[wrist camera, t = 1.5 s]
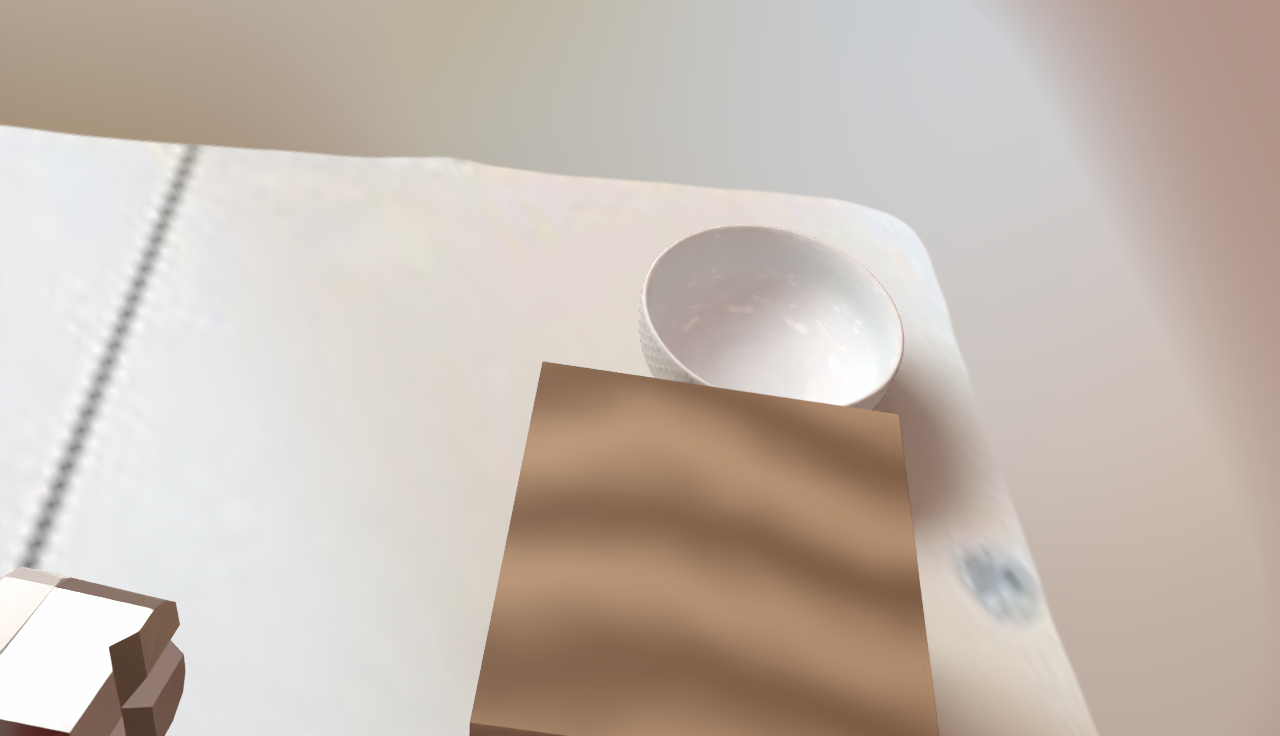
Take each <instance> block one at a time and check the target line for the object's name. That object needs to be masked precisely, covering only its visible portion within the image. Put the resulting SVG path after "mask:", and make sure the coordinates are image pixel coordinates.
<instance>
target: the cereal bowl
mask: <svg viewBox="0 0 1280 736" xmlns="http://www.w3.org/2000/svg"><path fill="white" fill-rule="evenodd" d="M639 313H640V316H639V325H640V327H639V333H640V342H641V344H642V351H643V353H644V356H645V359H646V362H647V364H648V366H649V369H650V371H651V372H652V375H653V376H654V378H657V379H664V380H671V381H677V382H684V383H691V384H698V385H704V386H711V387H718V388H725V389H731V390H738V391H745V392H752V393H758V394H765V395H772V396H779V397H785V398H792V399H799V400H806V401H812V402H819V403H826V404H833V405H839V406H846V407H853V408H860V409H866V410H872V409H874V408H875V407H876V406H877V404H878V403H879V401H880V400H881V399H882V398H883V397H884V395H885V393H886V392H887V391H888V389H889V387H890V385H891V383H892V382H893V380H894V377H895V375H896V373H897V371H898V368H899V366H900V363H901V360H902V356H903V349H904V332H903V326H902V322H901V319H900V316H899V313H898V311H897V308H896V306H895V304H894V303H893V301H892V299H891V297H890V296H889V295H888V293H887V292H886V290H885V289H884V288H883V286H882V285H881V284H880V283H879V282H878V280H877V279H876V278H875V277H874V276H873V275H872V274H871V273H870V272H869V271H868V270H867V269H865V268H864V267H863V266H862V265H861V264H860V263H858V262H857V261H855V260H854V259H852V258H851V257H850V256H848V255H847V254H845V253H844V252H842V251H840V250H839V249H837V248H835V247H833V246H831V245H829V244H827V243H825V242H823V241H820V240H818V239H816V238H813V237H810V236H808V235H805V234H802V233H799V232H795V231H791V230H787V229H782V228H777V227H771V226H763V225H727V226H719V227H713V228H709V229H706V230H702V231H699V232H696V233H693V234H691V235H688V236H686V237H684V238H682V239H680V240H678V241H676V242H675V243H673V244H672V245H670V246H669V247H668V248H667V249H665V250H664V251H663V252H662V253H661V254H660V255H659V256H658V258H657V259H656V260H655V261H654V263H653V264H652V266H651V268H650V270H649V272H648V274H647V276H646V278H645V280H644V285H643V288H642V291H641V298H640V308H639Z"/></svg>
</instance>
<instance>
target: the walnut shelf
mask: <svg viewBox="0 0 1280 736" xmlns="http://www.w3.org/2000/svg"><path fill="white" fill-rule="evenodd" d="M470 736H939V732H938V724H937V716H936V708H935V700H934V692H933V684H932V676H931V668H930V660H929V652H928V644H927V636H926V628H925V620H924V612H923V604H922V596H921V588H920V580H919V572H918V564H917V556H916V548H915V540H914V532H913V524H912V516H911V508H910V500H909V492H908V484H907V476H906V468H905V460H904V452H903V444H902V436H901V428H900V420H899V414H893V413H887V412H880V411H873V410H866V409H860V408H853V407H846V406H839V405H833V404H826V403H819V402H812V401H806V400H799V399H792V398H785V397H779V396H772V395H765V394H758V393H752V392H745V391H738V390H731V389H725V388H718V387H711V386H704V385H698V384H691V383H684V382H677V381H671V380H664V379H657V378H650V377H644V376H637V375H630V374H624V373H617V372H610V371H603V370H597V369H590V368H583V367H576V366H570V365H563V364H556V363H549V362H543V363H542V368H541V373H540V377H539V382H538V387H537V392H536V397H535V402H534V407H533V412H532V417H531V422H530V427H529V432H528V437H527V442H526V447H525V452H524V457H523V462H522V467H521V472H520V477H519V482H518V487H517V492H516V497H515V502H514V507H513V512H512V516H511V521H510V526H509V531H508V536H507V541H506V546H505V551H504V556H503V561H502V566H501V571H500V576H499V581H498V586H497V591H496V596H495V601H494V606H493V611H492V616H491V621H490V626H489V631H488V636H487V641H486V646H485V650H484V655H483V660H482V665H481V670H480V675H479V680H478V685H477V690H476V695H475V700H474V705H473V710H472V715H471V720H470Z"/></svg>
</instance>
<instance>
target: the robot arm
mask: <svg viewBox="0 0 1280 736" xmlns="http://www.w3.org/2000/svg"><path fill="white" fill-rule="evenodd" d="M179 625H180V623H179V618H178V612H177V607H176V602H173V601H169V600H164V599H160V598H156V597H152V596H147V595H143V594H139V593H134V592H130V591H126V590H122V589H117V588H113V587H109V586H105V585H100V584H96V583H92V582H87V581H83V580H79V579H75V578H71V577H67V576H62V575H57V574H53V573H48V572H43V571H39V570H34V569H29V568H25V567H19V568H18V569H16V570H14V571H13V572H11V573H9V574H8V575H6V576H5V577H3V578H2V579H1V580H0V736H165V734H166V732H167V731H168V729H169V727H170V725H171V723H172V722H173V719H174V716H175V713H176V710H177V708H178V705H179V702H180V699H181V696H182V693H183V687H184V679H185V662H184V654H183V653H182V652H181V651H180V650H179V649H178V648H177V647H176V646H175V645H174V643H173V642H172V641H171V638H172V636H173V635H174V633H175V632H176V630H177V628H178V627H179Z"/></svg>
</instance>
